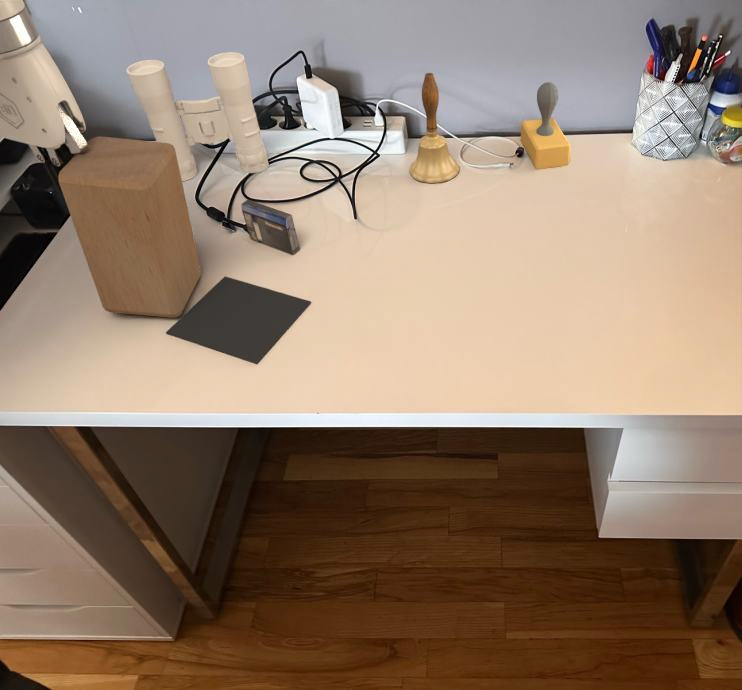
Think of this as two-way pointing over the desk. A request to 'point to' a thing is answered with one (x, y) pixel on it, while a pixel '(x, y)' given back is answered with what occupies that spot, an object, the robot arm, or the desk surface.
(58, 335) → the desk surface
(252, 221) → the mini dv tape
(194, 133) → the binoculars
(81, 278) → the desk surface
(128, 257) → the block
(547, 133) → the rubber stamp
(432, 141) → the hand bell
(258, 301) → the mat
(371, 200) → the desk surface
